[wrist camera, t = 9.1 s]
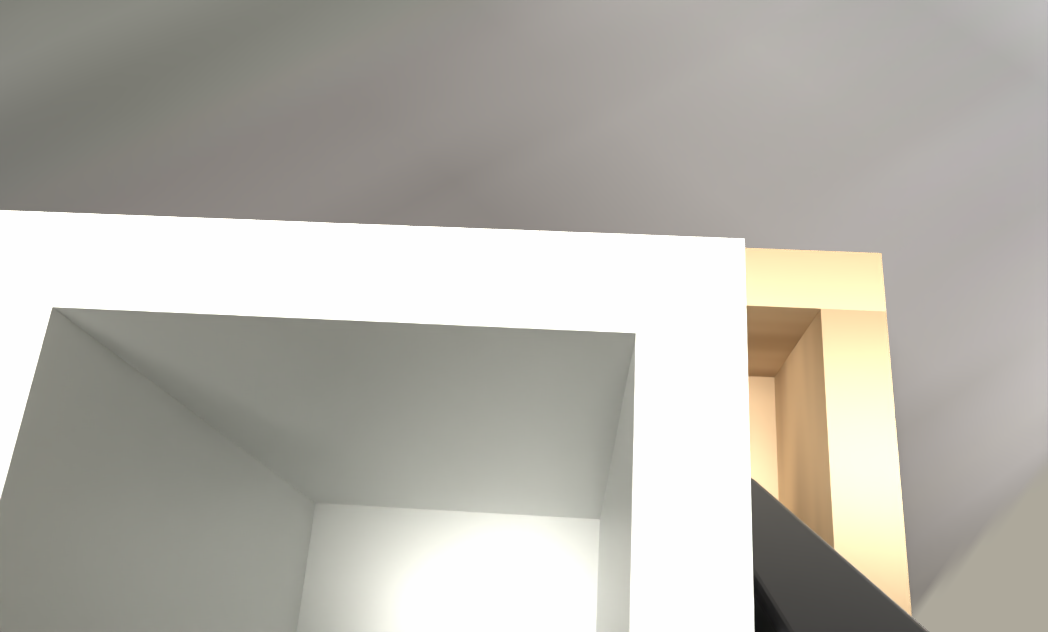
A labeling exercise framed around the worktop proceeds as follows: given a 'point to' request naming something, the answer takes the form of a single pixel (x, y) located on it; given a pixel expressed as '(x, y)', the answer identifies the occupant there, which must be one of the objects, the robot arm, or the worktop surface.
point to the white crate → (370, 428)
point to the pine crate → (827, 403)
